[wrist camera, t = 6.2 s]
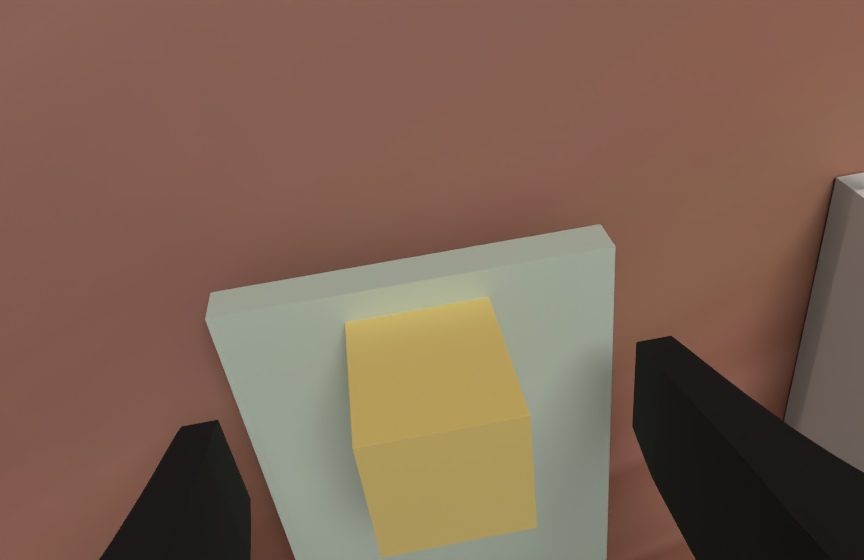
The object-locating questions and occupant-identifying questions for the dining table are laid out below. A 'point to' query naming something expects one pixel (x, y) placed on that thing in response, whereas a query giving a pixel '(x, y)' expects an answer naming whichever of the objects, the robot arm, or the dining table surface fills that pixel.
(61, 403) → the dining table surface
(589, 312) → the lid
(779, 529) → the robot arm
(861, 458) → the tub
